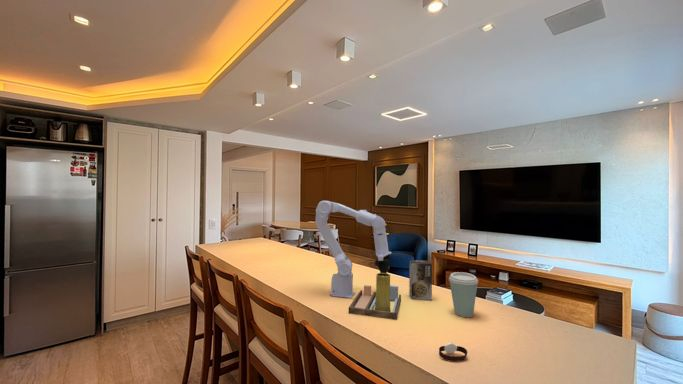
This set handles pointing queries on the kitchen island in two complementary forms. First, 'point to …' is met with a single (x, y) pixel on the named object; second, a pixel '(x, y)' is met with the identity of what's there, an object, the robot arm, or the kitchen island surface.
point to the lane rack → (373, 313)
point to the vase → (382, 292)
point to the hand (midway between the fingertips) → (385, 273)
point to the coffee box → (420, 280)
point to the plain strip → (364, 297)
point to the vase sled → (392, 297)
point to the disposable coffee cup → (463, 293)
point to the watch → (451, 349)
